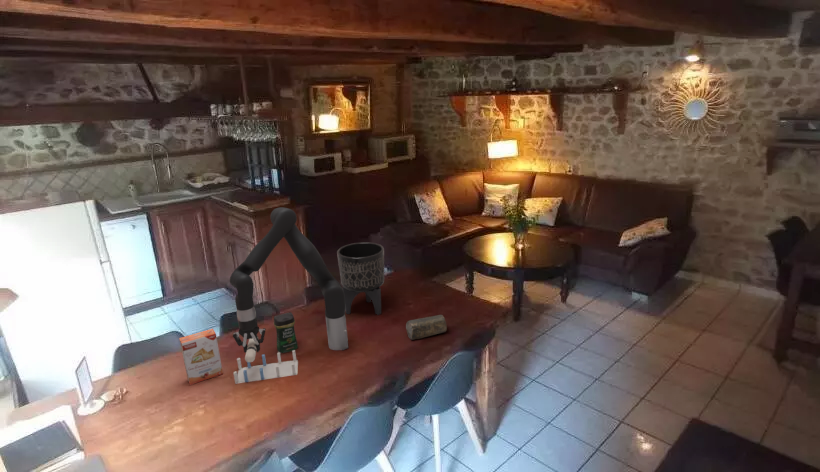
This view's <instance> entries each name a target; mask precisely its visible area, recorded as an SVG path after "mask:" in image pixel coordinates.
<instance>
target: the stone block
mask: <svg viewBox="0 0 820 472" xmlns="http://www.w3.org/2000/svg"><path fill="white" fill-rule="evenodd" d="M447 328H448V327H447V321H446V318H445V317H444V315H443V314H438V315H432V316H426V317H422V318H416V319H410V320H407V322H406V324H405V329H406V333H407V337H408V338H409V340H411V341H413V340H420V339H423V338H427V337H430V336H435V335H437V334H438V335H439V334H443V333H446V332H447V330H448V329H447Z"/></svg>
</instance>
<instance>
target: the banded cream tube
mask: <svg viewBox="0 0 820 472" xmlns="http://www.w3.org/2000/svg"><path fill="white" fill-rule="evenodd" d="M258 339H259V337H258ZM256 355H257V350H256V343H255V341H254V340H253V339H248V343H247V350H246V353H245V356H244V360H245V362H246V363H247V362H250V363H252V362H254V361H255V359H256Z"/></svg>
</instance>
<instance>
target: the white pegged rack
mask: <svg viewBox="0 0 820 472" xmlns="http://www.w3.org/2000/svg"><path fill="white" fill-rule="evenodd" d="M291 352H292V359H293V360H287V361H282V357H281V356H282V355H281V353H280V352H278V351H277V353H276V355H277V362H272V363H267V361H266V354H265V353H264V354H261V359H262V364H260V365H259V364H258V365H253V366H252V365H251V363H252V362H247V361H246V363H247V366H245V367H242V360H241V358H240V357H237V358H236V361H237V367H238V370H237V371H233V378H234V383H235V384H237V385H238V384H242V383H249V382H250V383H251V382H258V381H263V380H264V381H265V380H269V379H277V378H283V377H289V376H297V375H298V372H299V371H298V366H299V360H298V359H297V356H296V349H295V350H292V351H291Z"/></svg>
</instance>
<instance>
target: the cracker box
mask: <svg viewBox="0 0 820 472" xmlns="http://www.w3.org/2000/svg"><path fill="white" fill-rule="evenodd" d="M179 343H180V344H179V345H180V349H181V353H182V357H183V362H184V369H185V373H186V377H187V381H188V382H189V385H190V386H191V385H195V384H198V383H200V382H203V381H206V380H209V379H212V378H215V377H219V376H221V375H223V374H224V373H223V371H224V370H223V366H222V361H221V355H220V348H219V344H218V338H217V334H216V331H215V330H214V328H209V329H207V330H203V331H199V332H195V333H193V334H190V335H186V336H182V337H179Z"/></svg>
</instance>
